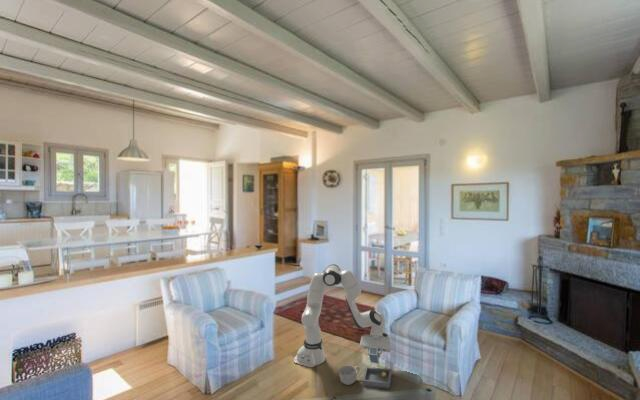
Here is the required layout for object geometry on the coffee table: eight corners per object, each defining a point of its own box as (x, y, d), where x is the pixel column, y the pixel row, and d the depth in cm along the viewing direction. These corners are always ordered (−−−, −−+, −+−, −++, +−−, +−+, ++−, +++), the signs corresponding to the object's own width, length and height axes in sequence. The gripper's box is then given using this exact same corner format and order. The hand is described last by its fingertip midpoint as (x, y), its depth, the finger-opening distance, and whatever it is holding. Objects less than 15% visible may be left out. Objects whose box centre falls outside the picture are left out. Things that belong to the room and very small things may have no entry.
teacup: (343, 389, 192) (341, 376, 192) (337, 378, 203) (336, 366, 202) (364, 383, 196) (363, 371, 195) (357, 373, 206) (356, 361, 206)
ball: (379, 374, 199) (381, 370, 200) (381, 376, 200) (383, 372, 202) (384, 376, 197) (385, 372, 198) (385, 378, 198) (387, 374, 200)
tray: (363, 386, 193) (362, 380, 193) (366, 372, 207) (366, 367, 207) (389, 388, 189) (389, 383, 189) (391, 374, 202) (391, 369, 202)
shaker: (370, 362, 206) (368, 353, 200) (371, 354, 210) (369, 346, 204) (378, 363, 204) (376, 355, 199) (379, 356, 208) (377, 347, 202)
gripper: (360, 331, 216) (357, 350, 205) (391, 335, 209) (389, 355, 198) (362, 336, 219) (358, 356, 209) (392, 340, 212) (390, 360, 202)
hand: (373, 355), depth 203 cm, fingers closed on shaker, 5 cm apart
